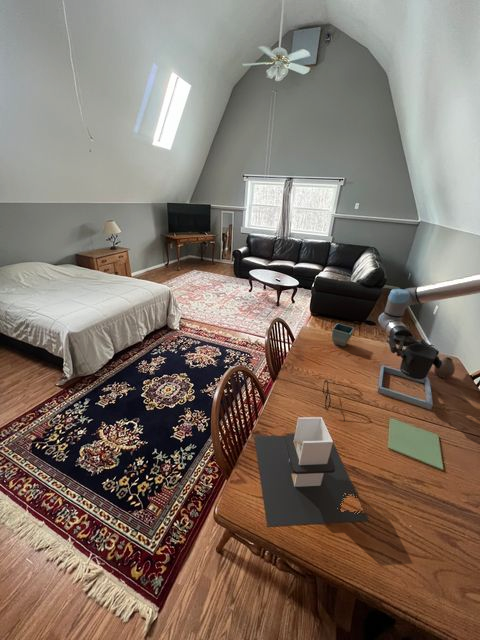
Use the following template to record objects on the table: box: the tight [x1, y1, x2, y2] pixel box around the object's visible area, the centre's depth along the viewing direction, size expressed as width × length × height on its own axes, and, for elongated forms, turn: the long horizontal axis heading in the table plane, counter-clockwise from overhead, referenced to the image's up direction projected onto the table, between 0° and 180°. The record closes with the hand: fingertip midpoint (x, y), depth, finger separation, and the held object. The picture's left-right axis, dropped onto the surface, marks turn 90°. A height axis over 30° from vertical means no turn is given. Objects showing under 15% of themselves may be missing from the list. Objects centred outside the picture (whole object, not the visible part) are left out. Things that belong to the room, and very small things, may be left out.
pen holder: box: [399, 344, 437, 379], centre depth 98 cm, size 9×9×10 cm
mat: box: [387, 417, 444, 471], centre depth 84 cm, size 14×14×1 cm
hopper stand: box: [253, 416, 370, 528], centre depth 70 cm, size 25×24×16 cm
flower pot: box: [331, 323, 355, 347], centre depth 137 cm, size 9×9×9 cm
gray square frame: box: [376, 364, 434, 410], centre depth 108 cm, size 18×18×2 cm
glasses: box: [322, 379, 371, 421], centre depth 98 cm, size 14×15×5 cm
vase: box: [433, 356, 456, 379], centre depth 115 cm, size 7×7×9 cm
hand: (425, 363), depth 93 cm, fingers closed on pen holder, 9 cm apart
